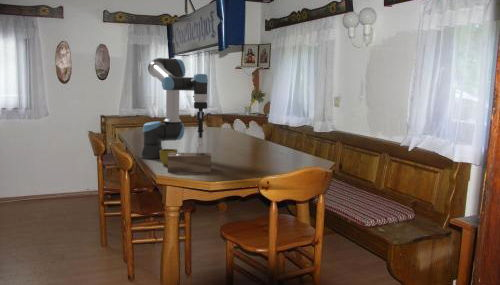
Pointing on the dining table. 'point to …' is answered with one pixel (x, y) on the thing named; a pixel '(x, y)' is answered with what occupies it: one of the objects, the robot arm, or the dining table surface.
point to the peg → (200, 149)
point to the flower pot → (166, 155)
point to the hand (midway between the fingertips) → (200, 143)
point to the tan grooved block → (189, 162)
